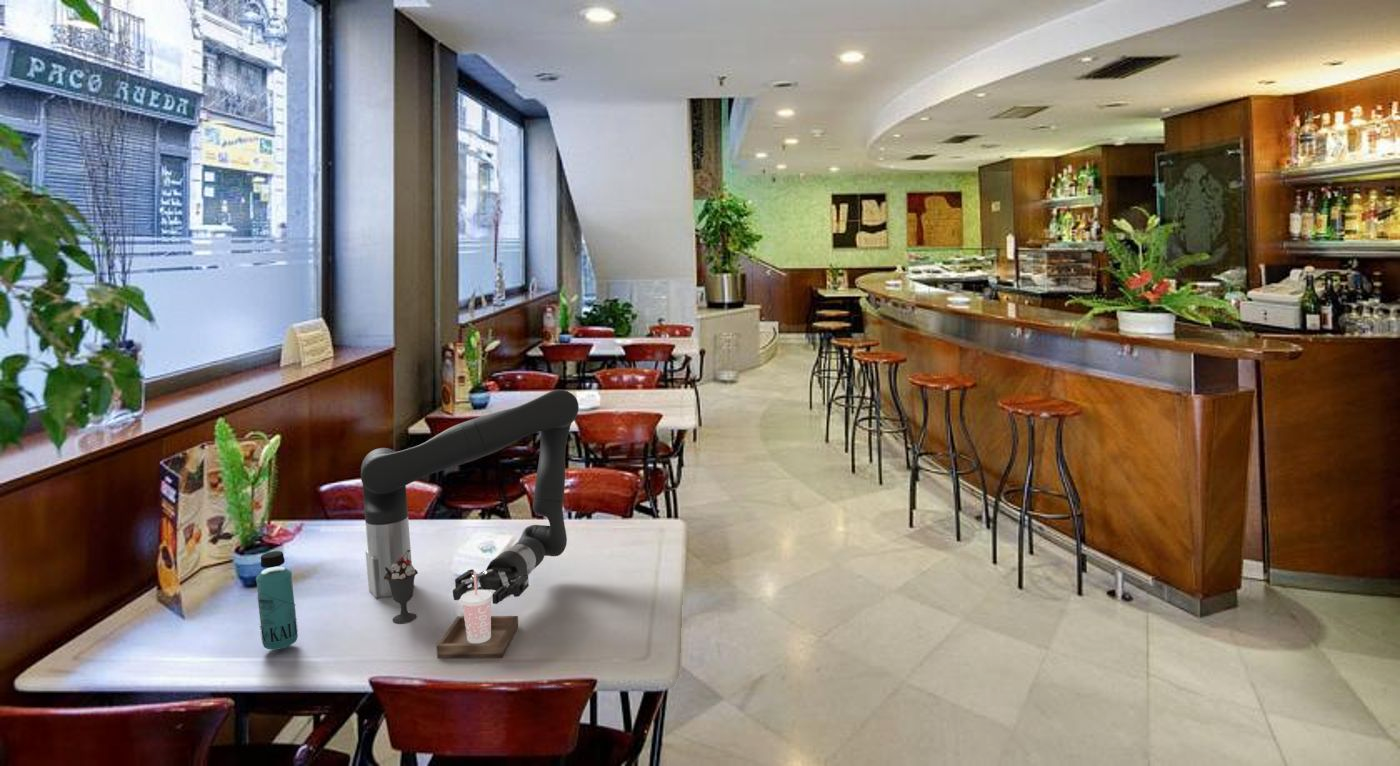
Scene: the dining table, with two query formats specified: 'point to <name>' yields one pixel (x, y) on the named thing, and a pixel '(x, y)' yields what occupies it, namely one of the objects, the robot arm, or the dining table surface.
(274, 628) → the beverage bottle
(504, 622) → the walnut tray
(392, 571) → the sundae
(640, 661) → the dining table surface
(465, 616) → the beverage cup
